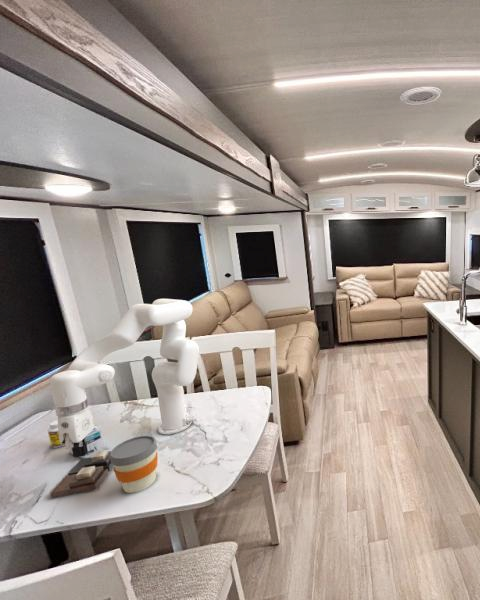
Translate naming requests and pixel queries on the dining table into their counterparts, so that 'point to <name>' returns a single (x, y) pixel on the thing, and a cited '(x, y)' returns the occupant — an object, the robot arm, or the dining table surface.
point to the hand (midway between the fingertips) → (80, 455)
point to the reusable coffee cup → (135, 463)
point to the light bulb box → (94, 442)
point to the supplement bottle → (54, 434)
